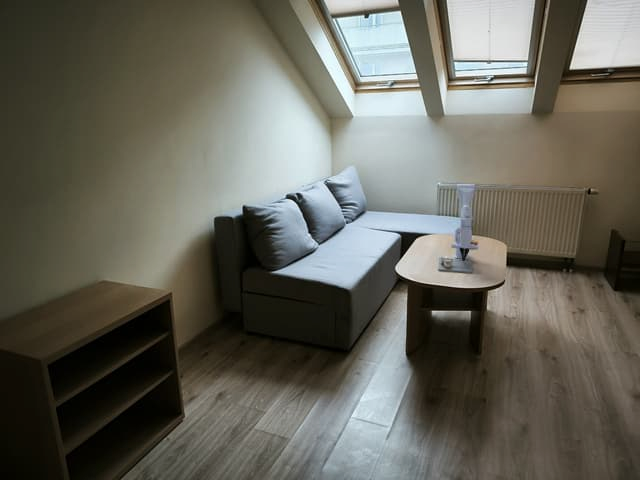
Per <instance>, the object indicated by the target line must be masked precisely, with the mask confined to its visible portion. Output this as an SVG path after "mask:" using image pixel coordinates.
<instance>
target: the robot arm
mask: <svg viewBox="0 0 640 480" xmlns="http://www.w3.org/2000/svg"><path fill="white" fill-rule="evenodd" d="M475 192H476V185H475V184H474V183H473V184H472V183H471V184H469V183H466V184H465V183H458V184H457V187H456V198H457V199H458V200H459V201H460V214H459V226H458V227H456V228H455V229H454V237H453V239H454V242H455V243H451V247H450V248H451V249H455V252H454V259H462V261H465V259H466V260H470V259H469V253H470V250H472V249H475V250H476V251H478V250H479V245H477V244H476V245H470V242H471V241H472V240H473V230H472V227H473V225H474V218H473V209H472V206H471V205H470V204H471V200H472V199H473V198H474V196H475Z"/></svg>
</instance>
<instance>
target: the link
mask: <svg viewBox="0 0 640 480" xmlns="http://www.w3.org/2000/svg"><path fill="white" fill-rule="evenodd" d="M445 257H452V255H451V254H450V255H449V254H446V255H445ZM444 267H445V268H451V260H445V265H444Z"/></svg>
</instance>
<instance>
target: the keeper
mask: <svg viewBox="0 0 640 480" xmlns="http://www.w3.org/2000/svg"><path fill="white" fill-rule="evenodd" d="M440 258H441V265H444V260H453V259H454V257H453V256H451V257H446V256H443V255H442V256H440Z"/></svg>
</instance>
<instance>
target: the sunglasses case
mask: <svg viewBox="0 0 640 480" xmlns="http://www.w3.org/2000/svg"><path fill="white" fill-rule="evenodd" d="M478 243H479V242H478V241H476V240H473V239H472V241H471V242H470V245H476V246H477V245H478ZM471 250H476V249H471Z"/></svg>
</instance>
